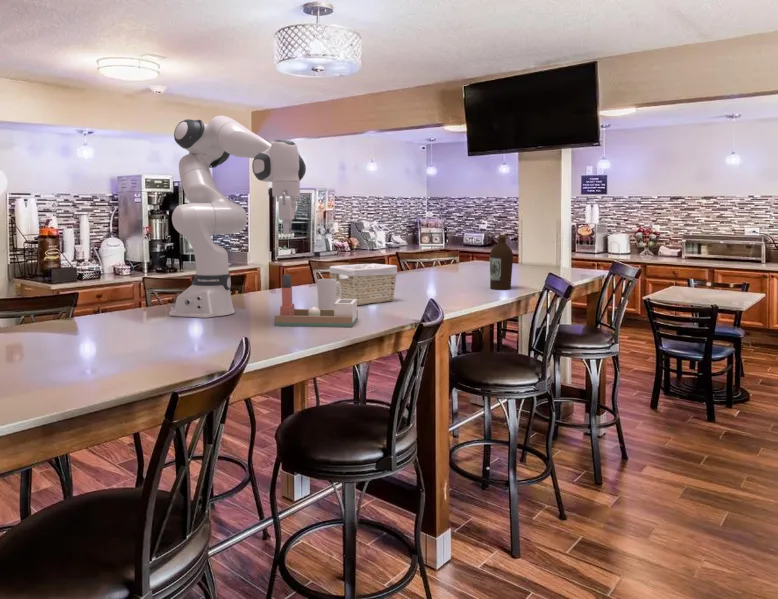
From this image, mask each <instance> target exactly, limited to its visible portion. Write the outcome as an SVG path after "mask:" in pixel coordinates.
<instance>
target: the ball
mask: <svg viewBox="0 0 778 599" xmlns="http://www.w3.org/2000/svg"><path fill="white" fill-rule="evenodd" d="M308 309H309V311H308V315H309V316H320V310H319V308H318V306H317V307H316V306H312V307H310V308H308Z"/></svg>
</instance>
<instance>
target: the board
mask: <svg viewBox="0 0 778 599" xmlns="http://www.w3.org/2000/svg"><path fill="white" fill-rule="evenodd" d="M309 309H310V308H307V309H306V308H294V316H281V315H280V314H279V315H278V314H277V315H274V327H312V328H313V327H314V328H315V327H318V328H320V327H322V328H353V327H354V325H355V323H356V322H357V321H358V319H359V316H358V315H359V313H358V312H359V311H358V305H357V299H339V300H337V301H336V302H335V303H334V310H326V309H319V310H320V316H309V315H308V311H309Z"/></svg>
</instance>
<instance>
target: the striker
mask: <svg viewBox="0 0 778 599" xmlns="http://www.w3.org/2000/svg"><path fill="white" fill-rule="evenodd" d="M281 277H282V278H281V279H282V282H281V283H282V287H281V304H282V305H281V306H280V308H279V309H280V310H279V312H280V314H279V315H281V316H294V309H295V303H293V287H292V274H282V275H281Z"/></svg>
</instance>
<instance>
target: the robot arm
mask: <svg viewBox="0 0 778 599" xmlns="http://www.w3.org/2000/svg"><path fill="white" fill-rule="evenodd" d="M173 138H174V141H175V143H176V144H177V145H178V146H180V147H181V148H182V149H184V150H186V151H187V152H188V154H186V155H183V156H182V157H181V158H180V160H179V161H178V173H179V179H180V183H181V185H182V188H183V191H184V195H185V197H186V199H187V201H188V202H189V203H185V204H179V205H177V206H176V207H175V208H174V210H173V212H172V214H171V222H172V226H173V228H174V230H176V231H177V233H179V234H180V235H181V236H183V237H184V238H185V239H186V240H187V241H188V243H189V244H190V246H191V249H192V250H193V253H194V254H193V255H194V259H195V260H194V261H195V270H196V271H195V274H194V275H192V276H191V277H189V281H190V282H191V285H190V286H189V287H188V288H187V289H185V290H184V291H182V292H181V293H180V294H179V295H178V296H177V298H176V301H175V304H174V305H175V306H174V309H171V310H170V311H169V312H168V316H170V317H171V316H172V317H182V318H183V317H184V318H187V317H188V318H202V319H205V318H207V319H208V318H212V317H222V316H228V315H232V314H235V312H236V311H235V308H234V304H233V300H232V295H231V285H232V283H231V282H232V281H231V274H230V272H229V271H230V270H229V269H230V268H229V253H228V252H227V250H226V249H225V248H224V247H222V246H221V245H218V244H216V243H214V241H213V240H212V235H214V236H215V235H233V234H236V233H240V232H242V231H244V229H245V228H246V226H247V223H248V216H247V212H246V209H244V207H243V206H242V205H239V204H237V203H235V202H233V201H231V200H230V199H228V197H227V196H225V195H223V193H221V191H220V190H219V189H218V187H217V185H216V183H215V181H214V178H213V175H212V173H211V170H210V169H214V168H217V167H218V166H220V165H222V164H223V163H225V162H226V161H227V160H228V159H229V157H230V156H234V157H237V158H247V159H253V160H252V164H251V165H252V167H251V168H252V172H253V175H254V176H255V178H256V179H257V180H258V181H262V182H266V183H267V182H268V183H271V188H272V192H271V193H272V197H275V198H276V202H278V219H279V220H280V221H282V222H281V224H282V230H283V235H285V236H286V235H290V234H291V233H292V222H293V221H292V220H295V215H296V204H297V198H298V197H300V196H301V188H300V187H301V183H300V182H301V180H303V178H304V177H305V174H306V171H307V170H306V169H307V167H306V163H305V161H304V159H303V158H302V156H301V155H300V154H299V150H298V146H297V144H296V143H295V142H294V141H291V140H284V139H283V140H282V139H275V140H273V141H272V142H270V141H268V140H266V139H264V138H263V137H261V136H259V135H258V134H256V133H254V132H253V131H252V130H250V129H248V128H247V127H245V126H244V125H243V124H241V123H240V122H239V121H237V120H235V119H233V118H231V117H229V116H226V115H222V114H221V115H216V116H214V117H212V119H210V121H209V122H208V123H204V122H203V120H202V119H196V120H194V119H190V118H189V119H184V120H182V121H180V122H179V123H178V124H177V125H176V126H175V130H174V133H173Z"/></svg>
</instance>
